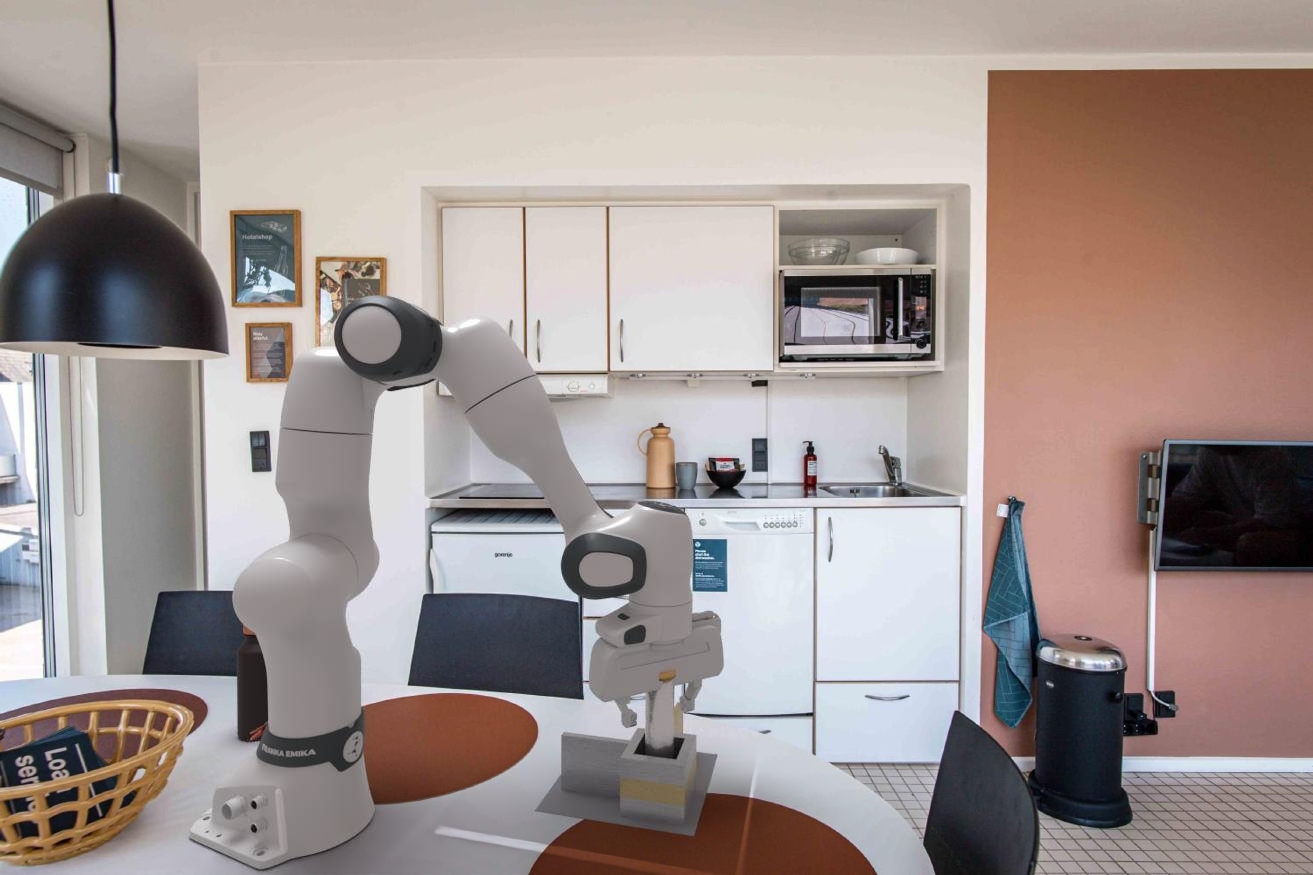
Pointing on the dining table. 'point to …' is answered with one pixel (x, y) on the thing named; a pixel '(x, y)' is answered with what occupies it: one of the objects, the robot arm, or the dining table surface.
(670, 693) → the hinge pin
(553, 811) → the base board
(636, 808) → the hinge
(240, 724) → the bottle
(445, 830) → the dining table surface
